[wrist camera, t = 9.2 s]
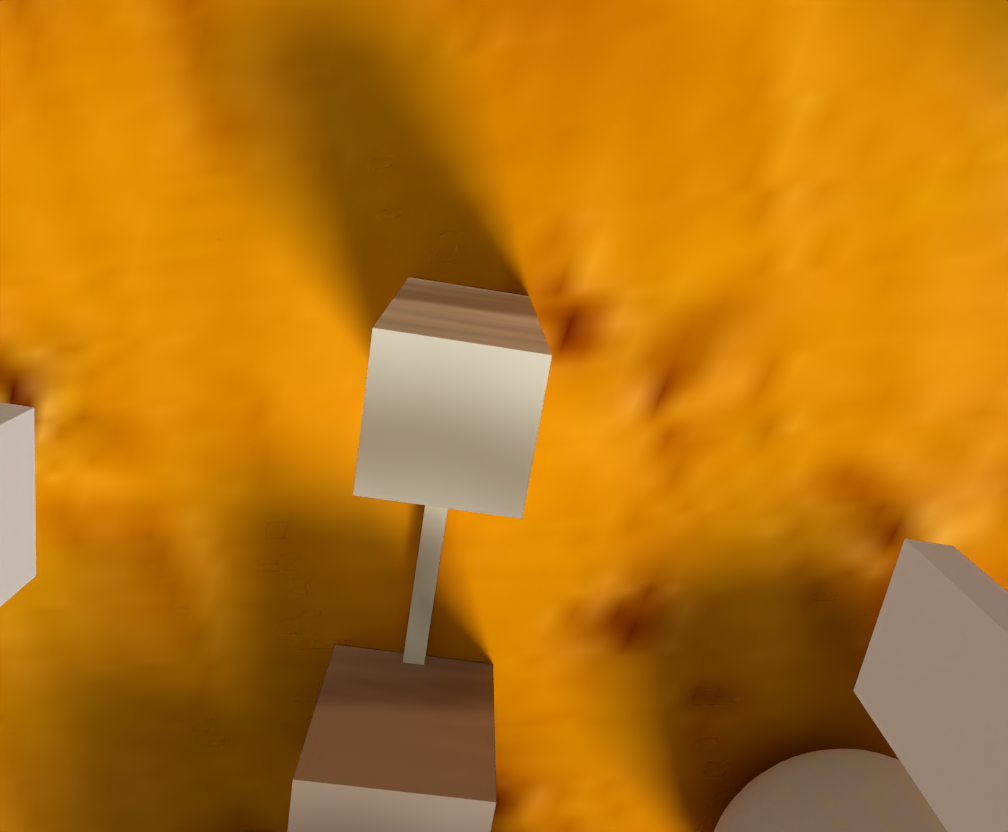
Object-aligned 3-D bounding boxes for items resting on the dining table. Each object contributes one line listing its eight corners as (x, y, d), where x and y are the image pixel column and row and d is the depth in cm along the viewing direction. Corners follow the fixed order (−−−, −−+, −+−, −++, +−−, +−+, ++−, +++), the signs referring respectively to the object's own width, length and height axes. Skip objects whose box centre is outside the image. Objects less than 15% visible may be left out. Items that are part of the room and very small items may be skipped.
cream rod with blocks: (378, 271, 26) (327, 321, 17) (558, 300, 27) (596, 361, 18) (319, 775, 32) (259, 999, 23) (469, 792, 32) (465, 1018, 24)
